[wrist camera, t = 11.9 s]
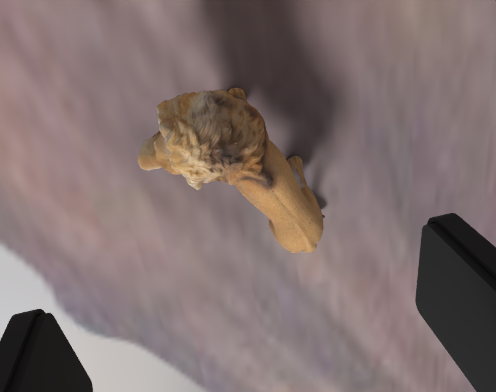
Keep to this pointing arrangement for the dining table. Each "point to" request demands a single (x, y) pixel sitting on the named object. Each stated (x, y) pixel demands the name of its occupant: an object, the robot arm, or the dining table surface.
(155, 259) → the dining table surface
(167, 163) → the lion figurine
